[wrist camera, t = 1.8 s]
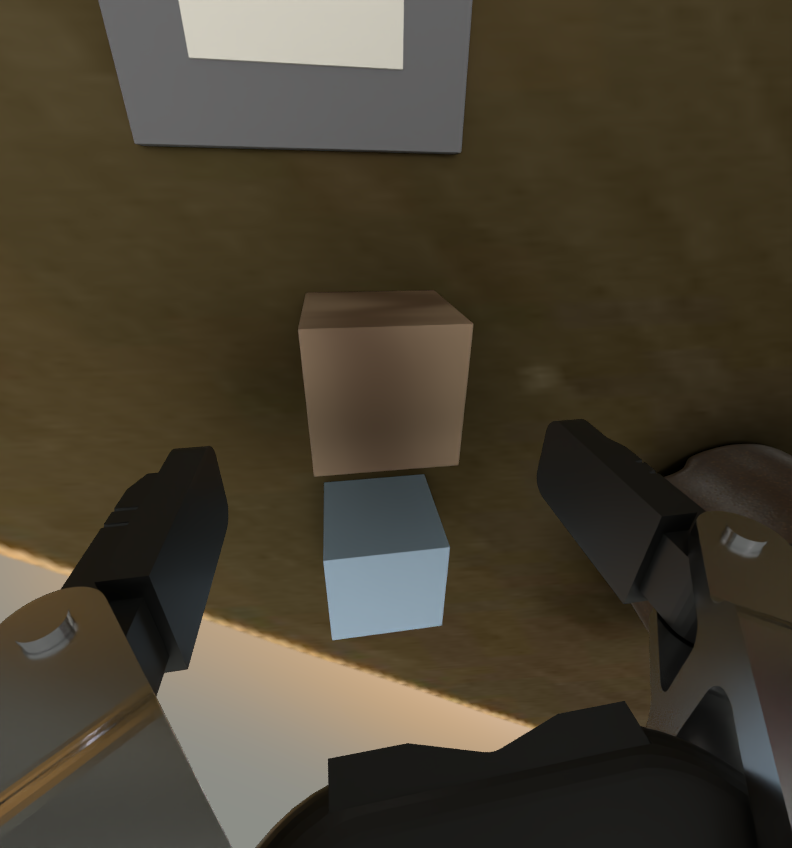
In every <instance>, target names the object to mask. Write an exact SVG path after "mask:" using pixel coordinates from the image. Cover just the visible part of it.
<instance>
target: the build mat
mask: <svg viewBox="0 0 792 848" xmlns="http://www.w3.org/2000/svg"><path fill="white" fill-rule="evenodd" d="M99 4H100V8H101V12H102V16H103V20H104V24H105V28H106V32H107V36H108V40H109V44H110V48H111V52H112V56H113V60H114V63H115V67H116V71H117V75H118V79H119V83H120V87H121V91H122V95H123V99H124V103H125V107H126V111H127V115H128V119H129V123H130V127H131V130H132V134H133V138H134V142H135V144H138V145H142V146H169V147H206V148H243V149H280V150H317V151H354V152H391V153H429V154H458V153H461V148H462V135H463V121H464V107H465V94H466V80H467V67H468V53H469V40H470V26H471V13H472V0H99Z"/></svg>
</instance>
